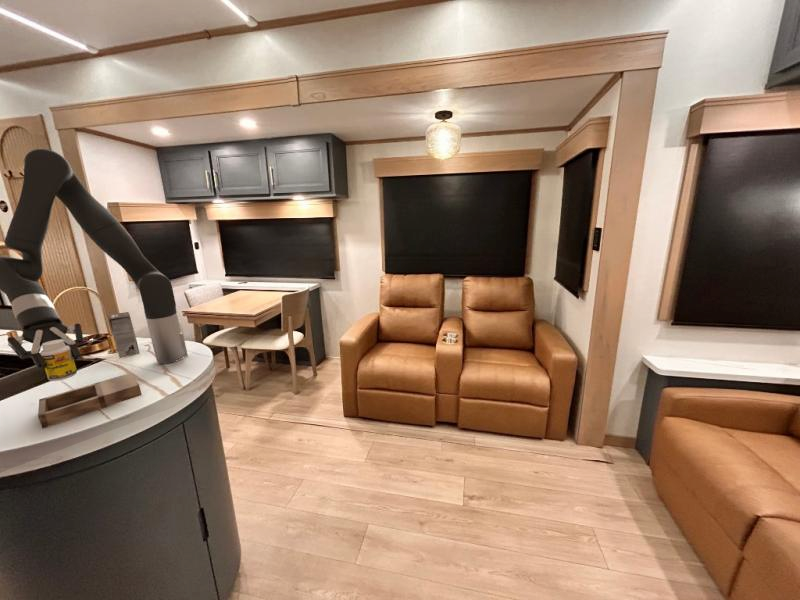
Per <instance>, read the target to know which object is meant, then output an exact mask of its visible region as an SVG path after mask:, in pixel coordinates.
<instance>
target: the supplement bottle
mask: <svg viewBox="0 0 800 600" xmlns="http://www.w3.org/2000/svg"><path fill="white" fill-rule="evenodd" d="M41 348H42V350H40V352H39V353H40V354H41V356H42V358H43V361H44V363H45V366H46V368H44V371H45V373H46V376H47V380H48V381H51V382H57V381H62V380H63V381H64V380H66V379H69V378H73V377H74V376H75V375H77V373H78V370H77V366H76V363H75V362H76V361H75V360H74V358H73V356H72V352H71V349H70V347H69V346H65V343H64V341H63V340H61V339H60V340H52V341H48V342H45V343H43V344H42V346H41Z"/></svg>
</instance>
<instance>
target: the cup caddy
mask: <svg viewBox="0 0 800 600" xmlns="http://www.w3.org/2000/svg"><path fill="white" fill-rule="evenodd" d="M142 394H143V393H142V391H141V387H140V384H139V382H138V380H137V379H136V377H135V375H134V373H133V372H129V373H126V374H123V375H118V376H116V377H115V376H114V377H113V378H112V377H111V378H109V379H105V380H102V381H98V382H96V383H91V384H88V385H85V386H81V387H78V388H74V389H71V390H67V391H64V392H60V393H56V394H54V395H50V396H46V397H43V398H39V400H38V409H37V410H38V411H37V417H38V420H39V423H40V426H41V428H42V429H46V428H48V427H52V426H53V424H54V425H57V424H60V423H62V422H66V421H70V420H72V419H74V418H75V419H76V418H78V417H80V416H84V415H86V414H89V413H93V412H96V411H98V410H101V409H105V408H108V407H111V406H113V405H117V404H119V403H122V402H125V401H128V400H131V399H135V398H137V397H141V396H143V395H142ZM56 423H57V424H56Z"/></svg>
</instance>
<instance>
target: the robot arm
mask: <svg viewBox="0 0 800 600" xmlns="http://www.w3.org/2000/svg"><path fill="white" fill-rule="evenodd" d="M23 163H24V164H23V165H24V167H23V169H24V171H23V182H22V187H21V188H22V189H21V191H20V196H19V200H18V201H17V205H16V207H15V210H14V213H13V216H12V218H11V221H10V223H9V226H8V229H7V232H6V236H5V238H4V245H5V246H6V247H7V248H10V249H12V250H14V251H18V252H20V253H21V255H22V258H16V257H11V256H4V255H0V291H1V292H2V293H3V294H4V295H6V297H7V299H8V301H9V303H10V305H11V308H12V312H13V315H14V318H15V320H16V321H17V324H18V325H19V327H20V329H21V332H22V334H21V335H19V336H16V337H14V336H9V337H8V338H7V345H9V347H10V348H11V349H12V351H13V352H14V353H15V354H16V355H17V356H18V357H19V358H20V359H21V360H25V359H29V358H30V359H32V360H33V362H34V364H35V366H36V368H38V369H39V368H41V370H44V369H45V368H46V366H45V363H44V361H43V358H42V356H41V354H40V352H41V351H42V344H43V343H45V342H48V341H52V340H60V339H61V340H63V341H64V343H65V346H69V347H70V349H71V352H72V356H73V359H74V361H76V360H79V358H80V357H81V356H80V355H81V352H80V350H79V347H78V346H83V344H84V336H83V330H82V326H81V324H80V323H74V325H68V326H67V325H66V324H65V323H63V322H62V320H61V319H62V318H60V315H59V314H58V312H57V310H56V307H55V306H54V304H53V303H52V301H51V300H50V298H49V297H48V294H47V293H46V291H45V289H44V287H43V286H42V284H40V283H39V282H38V281H39V280H40V279H41V278H42V276H43V269H44V268H43V260H42V259H43V256H42V254H43V253H42V249H43V245H44V243H45V239H46V236H47V232H48V229H49V224H50V219H51V214H52V210H53V209H52V208H53V204H54V202H55V199H56V198H58V200H60V202H61V203H63V205H64V206H65V207H66V209H67V210H68V211H69V213H70V214H71V216H72V217H73V218H74V220H75V221H76V223H77V224H78V225H79V227H80V228H81V229H82V230H83V231H84V233H85V234H86V236H88V237H89V238H90V239H91V240H92V242H93V243H94V244H95V245H97V247H99V249H101V251H103V252H104V253H105V254H106V255H107V256H108V257H110V259H112V261H114V262H116V264H118V265H119V266H120V267H121V268H122V269H124V271H125V272H126V274H127V275H129V277H130V278H131V280H132V281H133V283H134V284H135V285H136V287H137V289H138V291H139V293H140V297H141V302H142V305H143V310H144V311H143V312H144V316H145V320H146V323H147V328H148V332H149V335H150V340H151V344H152V347H153V350H154V351H153V352H154V355H155V359H156V362H157V363H158V364H169V363H174V362H177V361H176V360H178V361H180V360H182V359H184V358H186V357H185V356H187V357H189V354H188V350H187V346H186V340H185V338H184V337H185V336H184V333H183V332H182V330H181V325H180V321H179V316H178V312H177V304H176V300H175V299H176V298H175V294H174V290H173V286H172V285H173V284H172V282H171V280H170V278H168V276H166V275H165V274H163V273H162V272H161V271H159V270H158V269H157V268H156V267H155V266H154V265H153V264H152V263H151V262H150V261H149V260H148V259H147V258H146V257H145V256H144V254H143V253H142V251H141V250H140V248H139V246H138V245H137V243H136V242H135V240H134V239H133V237H132V236H131V235H130V233H129V232H128V231H127V229H126V228H125V227H124V226H123V225H122V224H121V222H120V221H119V220H118V219H117V218H116V217H115V216H114V215H113V214H112V212H110V211H109V210H108V209H107V208H106V207H105V206H104V205H102V203H100V202H99V201H98V200H97V199H96V198H95V197H94V196H93V195H92V194H91V193H90V192H89V191H88V189H87V188H86V187H85V186H84V185H83V183H82V182H81V180H80V179H79V178H78V176H77V174H76V173H75V172H74V170H73V169H72V166H71V164H70V163H69V161H67V159H66V158H65V157H64V156H62V155H61V154H60V153H58V152H56V151H54V150H52V149H46V148H38V149H33V150H30V151H29V152H27V154H25V156H24V159H23ZM68 332H71V334H74V335H75V339H74V340H73V339H72V338H70V337H69V335H67V333H68ZM23 341H25V342H28V343H30V344H32V345H31V346H32V347H31V350H26V349H25V348H24V347H23ZM183 357H184V358H183ZM181 358H182V359H181ZM179 359H180V360H179ZM173 361H174V362H173Z"/></svg>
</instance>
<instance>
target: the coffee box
mask: <svg viewBox="0 0 800 600" xmlns="http://www.w3.org/2000/svg"><path fill="white" fill-rule="evenodd" d="M107 317H108V321H109V325H110V329H111V333H112V337H113V339H114V343H115V346H116V350H117V353H118V357H119V359H122V358H123V359H124V358H127V357H131V356H135V355H140V347H139V345H138V342H137V341H138V339H137V337H136V333H135V330H134V329H135V328H134V326H133V325H134V324H133V322H132V318H131V317H132V316H131V315H130V312H129V311H126V312H118V313H117V312H116V313H112V314H108V316H107Z"/></svg>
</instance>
